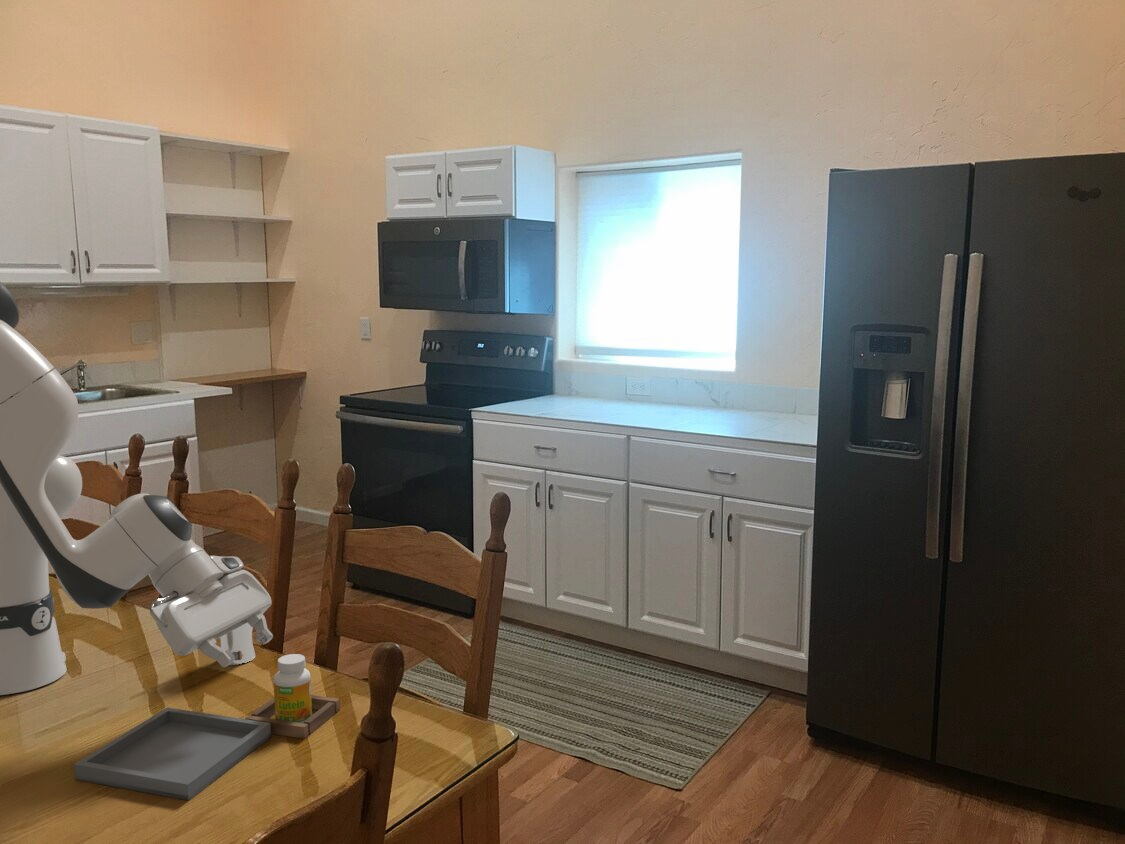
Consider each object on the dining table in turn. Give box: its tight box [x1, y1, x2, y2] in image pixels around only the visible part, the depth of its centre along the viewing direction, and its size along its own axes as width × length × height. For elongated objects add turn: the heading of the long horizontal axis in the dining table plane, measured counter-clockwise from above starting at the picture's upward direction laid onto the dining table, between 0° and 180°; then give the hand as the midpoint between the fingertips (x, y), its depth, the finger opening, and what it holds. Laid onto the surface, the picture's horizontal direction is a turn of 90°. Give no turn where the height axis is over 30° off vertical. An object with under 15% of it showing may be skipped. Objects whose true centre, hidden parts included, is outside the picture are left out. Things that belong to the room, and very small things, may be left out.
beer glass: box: [219, 623, 256, 666], centre depth 165 cm, size 7×7×15 cm
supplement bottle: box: [273, 653, 313, 723], centre depth 142 cm, size 5×5×10 cm
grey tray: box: [73, 707, 272, 801], centre depth 131 cm, size 18×18×2 cm
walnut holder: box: [244, 694, 341, 740], centre depth 143 cm, size 10×10×2 cm
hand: (249, 652), depth 143 cm, fingers open, 8 cm apart
